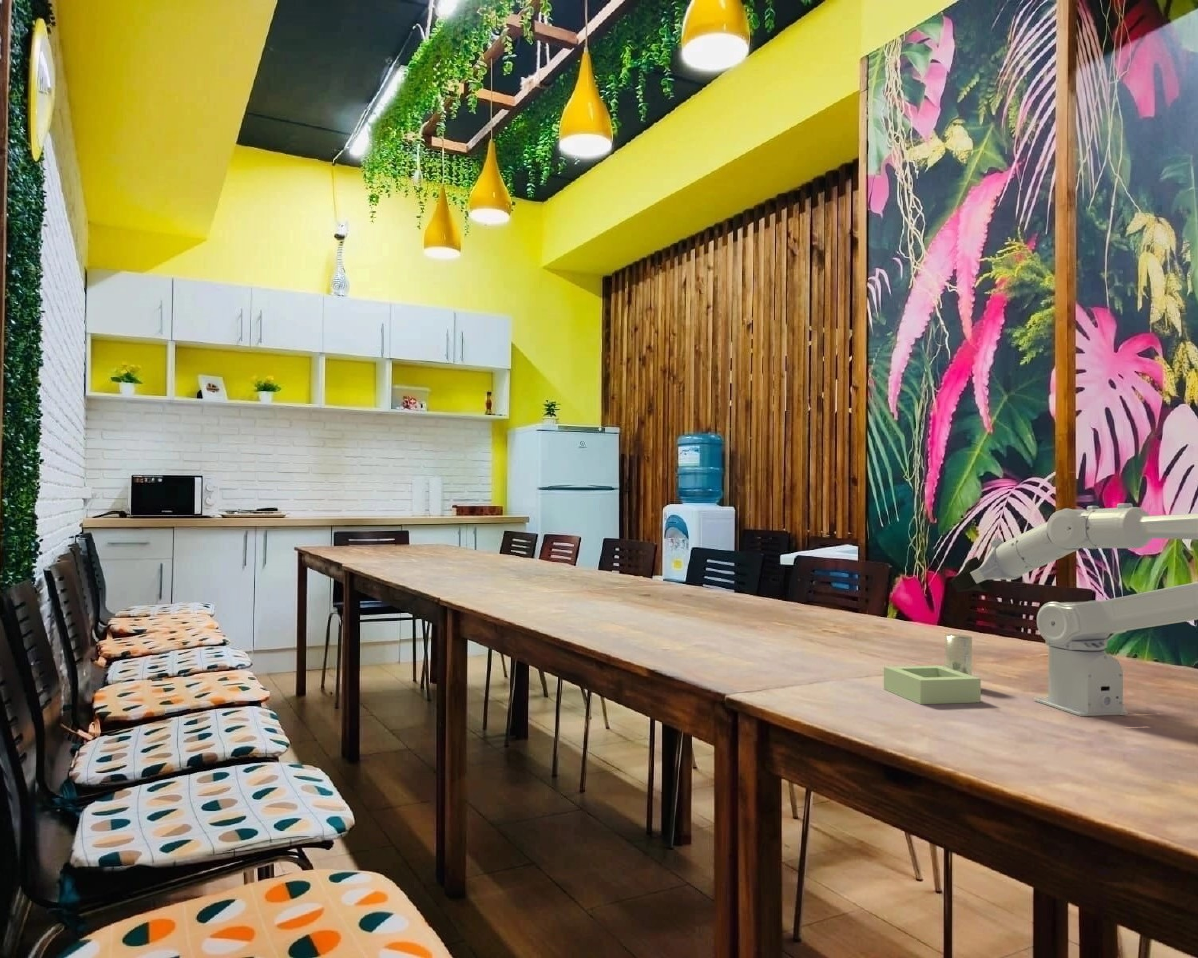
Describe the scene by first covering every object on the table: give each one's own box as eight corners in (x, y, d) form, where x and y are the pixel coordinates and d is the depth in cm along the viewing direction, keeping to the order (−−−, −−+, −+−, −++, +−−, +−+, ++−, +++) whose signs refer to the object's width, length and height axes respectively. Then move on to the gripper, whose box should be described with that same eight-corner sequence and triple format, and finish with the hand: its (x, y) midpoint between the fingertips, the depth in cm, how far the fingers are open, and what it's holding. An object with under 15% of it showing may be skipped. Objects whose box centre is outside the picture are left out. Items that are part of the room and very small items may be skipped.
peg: (976, 687, 136) (977, 638, 136) (954, 688, 135) (955, 638, 135) (961, 682, 140) (961, 634, 140) (939, 683, 139) (940, 634, 139)
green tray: (980, 702, 126) (980, 678, 126) (920, 704, 124) (920, 680, 124) (939, 687, 136) (940, 665, 136) (883, 688, 134) (883, 666, 134)
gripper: (1043, 515, 137) (982, 545, 149) (988, 541, 131) (929, 570, 142) (1068, 553, 136) (1004, 581, 147) (1013, 582, 129) (951, 609, 140)
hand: (969, 578), depth 144 cm, fingers open, 7 cm apart
